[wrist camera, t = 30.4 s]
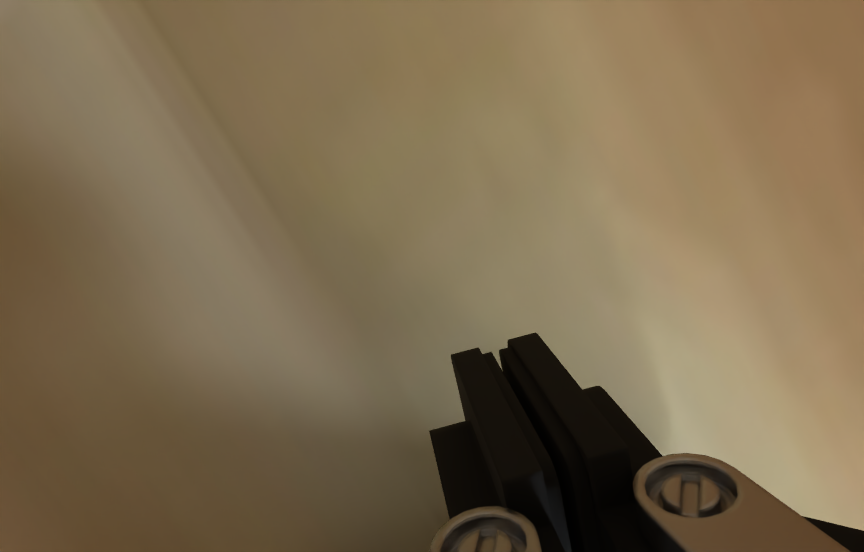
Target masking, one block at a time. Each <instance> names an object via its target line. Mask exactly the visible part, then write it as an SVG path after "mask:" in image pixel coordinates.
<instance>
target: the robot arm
mask: <svg viewBox="0 0 864 552" xmlns="http://www.w3.org/2000/svg"><path fill="white" fill-rule="evenodd" d="M499 355H500V360H501V365H502V370H503V372H502V370H501V368H500V366H499V364H498V363H497V361H496V359H495V357H494V356H493V354H492V352H489V353H485V354H482V353H481V351H480V349H479V348H475V349H471V350H467V351H463V352H459V353H455V354H451V359H452V364H453V368H454V373H455V377H456V381H457V386H458V390H459V394H460V398H461V403H462V407H463V411H464V416H465V420H466V421H464V422H460V423H456V424H453V425H449V426H445V427H441V428H438V429H434V430H430V431H429V432H430V436H431V441H432V445H433V449H434V454H435V458H436V462H437V466H438V471H439V475H440V479H441V484H442V488H443V492H444V497H445V501H446V505H447V510H448V514H449V518H450V520H449V521H448V522H447V523H445V524H444V525H443V526H442V527H441V528H440V529H439V530H438V532H437V534H436V535H435V537H434V538H433V540H432V543H431V547H430V552H864V531H862V530H858V529H853V528H849V527H845V526H841V525H837V524H833V523H829V522H824V521H820V520H816V519H812V518H808V517H804V516H801V515H799V514H798V513H797V512H795V511H794V510H792V509H791V508H790V507H788V506H787V505H785V504H784V503H783V502H781V501H780V500H779V499H777V498H776V497H774V496H773V495H772V494H770V493H769V492H767V491H766V490H765V489H763V488H762V487H761V486H759V485H758V484H756V483H755V482H754V481H752V480H751V479H750V478H748V477H747V476H745V475H744V474H743V473H741V472H740V471H738V470H737V469H736V468H734V467H732V466H730V465H729V464H727V463H725V462H723V461H721V460H718V459H715V458H712V457H709V456H705V455H698V454H690V453H683V454H670V455H666V456H662V455H661V454H660V453H659V451H658V450H657V449H656V448H655V447H654V446H653V445H652V443H651V442H650V441H649V440H648V439H647V438H646V437H645V436H644V434H643V433H642V432H641V431H640V430H639V429H638V428H637V426H636V425H635V424H634V423H633V422H632V421H631V420H630V418H629V417H628V416H627V415H626V414H625V413H624V412H623V411H622V409H621V408H620V407H619V406H618V405H617V404H616V403H615V401H614V400H613V399H612V398H611V397H610V396H609V395H608V393H607V392H606V391H605V390H604V389H603V388H602V387H600V386H595V387H591V388H587V389H583V390H582V389H581V388H580V386H579V385H578V384H577V383H576V381H575V380H574V379H573V378H572V376H571V375H570V374H569V373H568V371H567V370H566V369H565V368H564V366H563V365H562V364H561V363H560V361H559V360H558V359H557V358H556V356H555V355H554V354H553V353H552V351H551V350H550V349H549V348H548V346H547V345H546V344H545V343H544V341H543V340H542V339H541V338H540V336H539V335H538V334H537V333H532V334H528V335H524V336H521V337H517V338H513V339H509V340H508V348H504V349H501V350H499Z"/></svg>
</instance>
